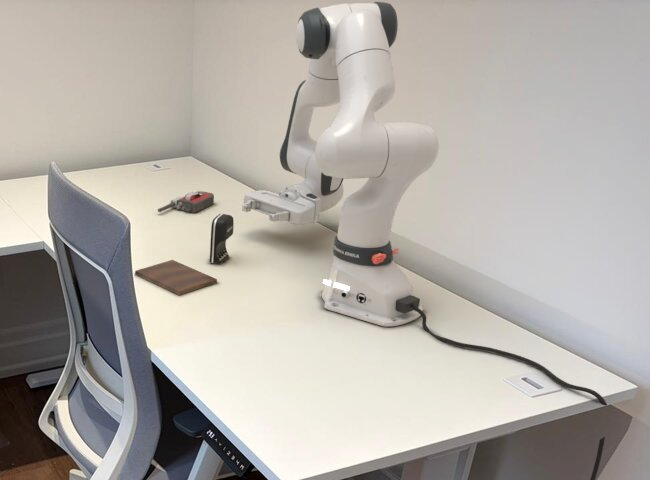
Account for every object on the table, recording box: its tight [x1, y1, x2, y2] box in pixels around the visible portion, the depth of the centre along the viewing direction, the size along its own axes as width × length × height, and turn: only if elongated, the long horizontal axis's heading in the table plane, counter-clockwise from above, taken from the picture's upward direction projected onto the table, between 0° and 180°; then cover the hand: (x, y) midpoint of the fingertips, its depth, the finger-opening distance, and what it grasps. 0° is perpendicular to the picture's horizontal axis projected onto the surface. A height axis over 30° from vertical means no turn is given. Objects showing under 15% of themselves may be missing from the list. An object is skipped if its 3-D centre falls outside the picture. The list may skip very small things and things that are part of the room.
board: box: [134, 259, 218, 296], centre depth 203 cm, size 16×12×1 cm
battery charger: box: [209, 213, 235, 265], centre depth 211 cm, size 7×4×11 cm, turn 153°
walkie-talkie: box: [157, 190, 215, 214], centre depth 248 cm, size 9×4×20 cm
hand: (257, 213), depth 216 cm, fingers open, 8 cm apart
